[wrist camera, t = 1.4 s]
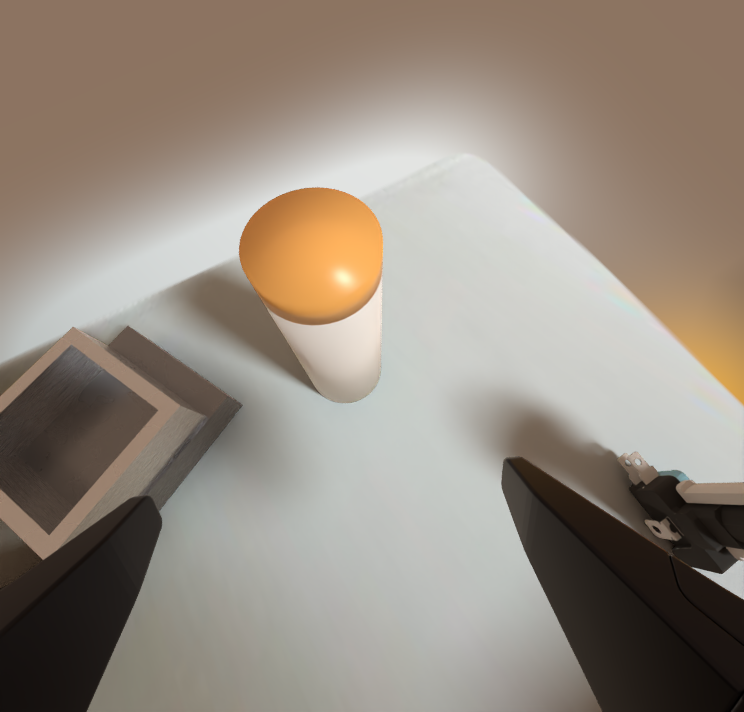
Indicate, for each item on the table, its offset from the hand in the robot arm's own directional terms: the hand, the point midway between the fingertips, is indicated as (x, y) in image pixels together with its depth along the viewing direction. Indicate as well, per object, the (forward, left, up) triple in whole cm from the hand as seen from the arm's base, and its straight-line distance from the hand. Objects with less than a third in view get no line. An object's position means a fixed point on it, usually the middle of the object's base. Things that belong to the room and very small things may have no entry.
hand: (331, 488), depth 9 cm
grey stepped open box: (-6, +14, -14) cm, 21 cm away
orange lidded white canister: (+6, +5, -14) cm, 16 cm away
